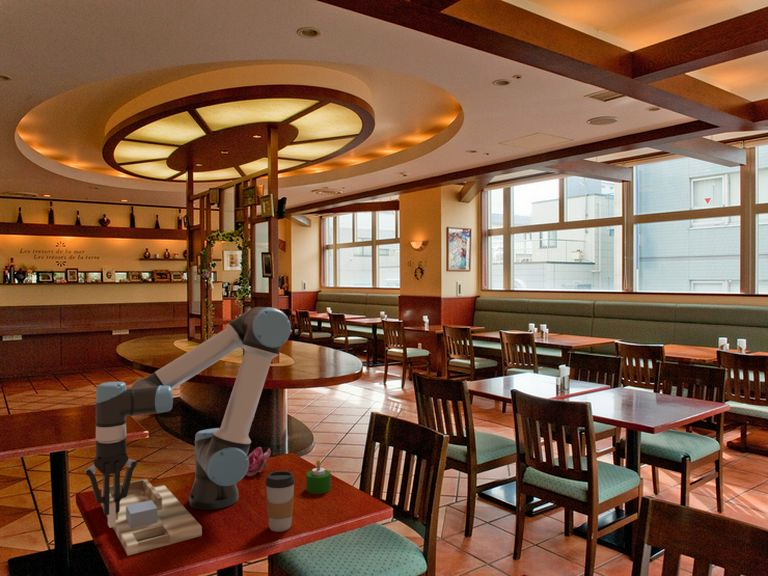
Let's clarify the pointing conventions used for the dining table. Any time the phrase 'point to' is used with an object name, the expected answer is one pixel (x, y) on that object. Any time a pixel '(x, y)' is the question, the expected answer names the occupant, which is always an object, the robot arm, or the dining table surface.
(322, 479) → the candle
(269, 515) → the coffee cup
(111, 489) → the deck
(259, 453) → the flower
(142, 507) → the slate block
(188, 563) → the dining table surface
